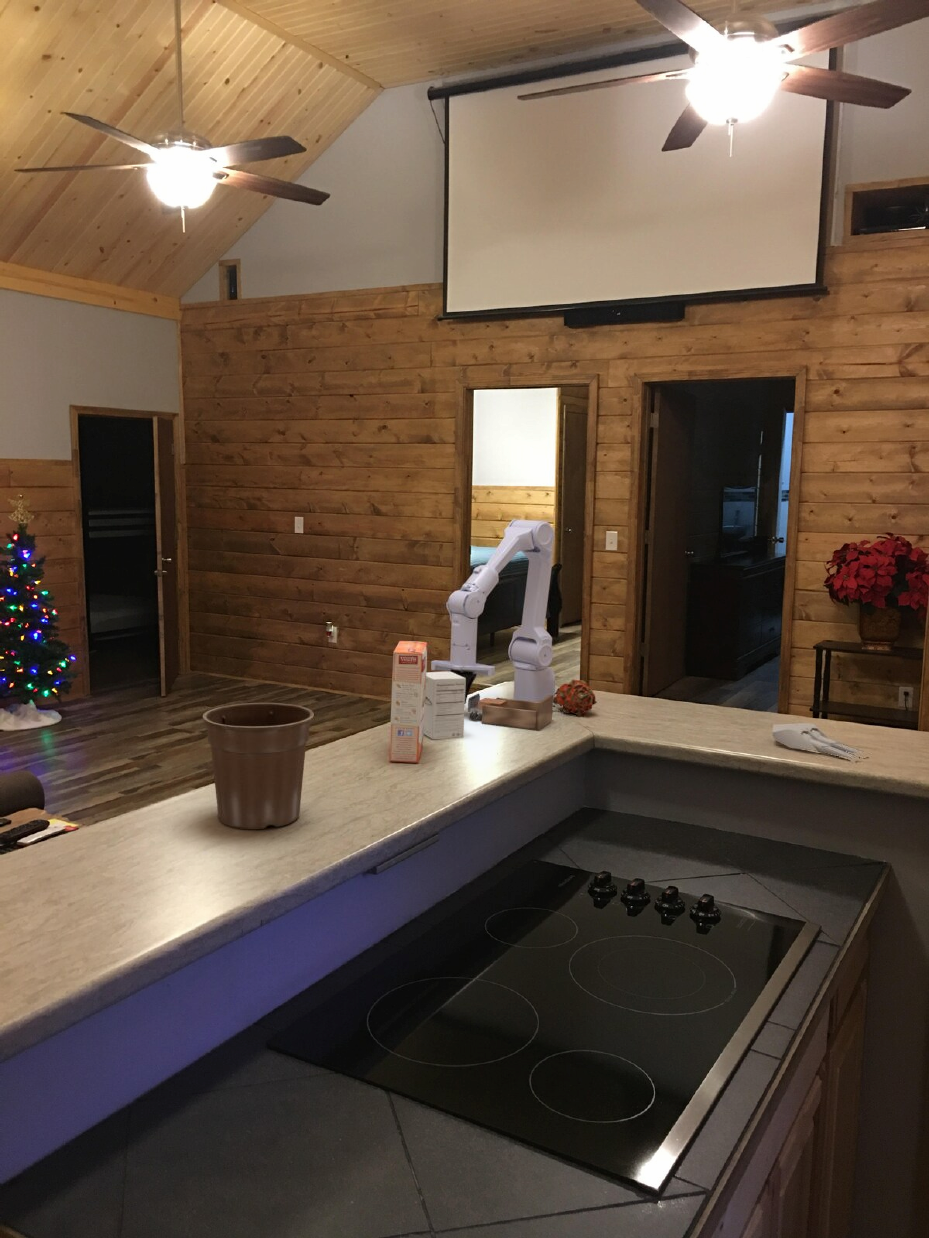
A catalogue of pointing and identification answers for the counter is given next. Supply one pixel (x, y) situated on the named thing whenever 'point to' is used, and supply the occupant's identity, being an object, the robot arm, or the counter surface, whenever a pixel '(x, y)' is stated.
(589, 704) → the dragon fruit
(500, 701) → the wheeled platform dolly
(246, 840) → the counter surface
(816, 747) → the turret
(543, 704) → the brown wooden open box
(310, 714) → the plant pot
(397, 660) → the cracker box
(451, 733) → the supplement box
